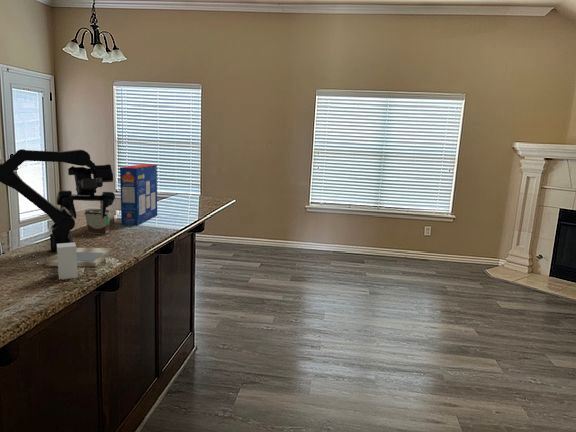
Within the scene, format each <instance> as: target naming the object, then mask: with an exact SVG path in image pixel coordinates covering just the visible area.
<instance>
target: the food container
mask: <svg viewBox="0 0 576 432" xmlns="http://www.w3.org/2000/svg"><path fill="white" fill-rule="evenodd" d="M83 215H85V221H86V228H87V229H86V230H87V233H89V234H96V235H104V236H107V235H109V233H110V231H109V230H110V218H111V217H112V213H111V210H109V209H106V211H105V216H104V219H102V216H101V209H99V208H97V209H96V208H95V209H93V208H92V209H86V210H84V213H83Z"/></svg>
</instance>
